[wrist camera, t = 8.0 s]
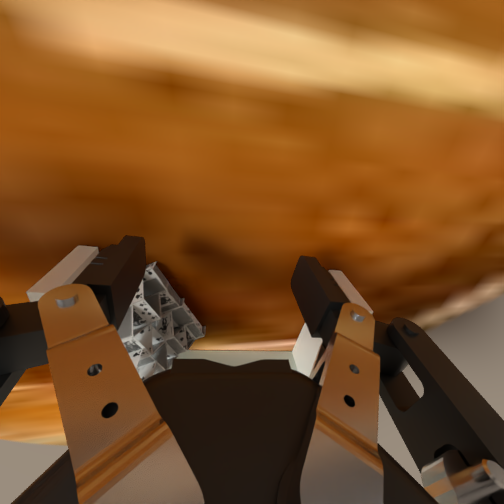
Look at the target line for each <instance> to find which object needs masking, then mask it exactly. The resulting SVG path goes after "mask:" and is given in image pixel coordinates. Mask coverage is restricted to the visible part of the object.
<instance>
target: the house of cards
mask: <svg viewBox="0 0 504 504" xmlns="http://www.w3.org/2000/svg"><path fill="white" fill-rule="evenodd" d="M156 262H157V261H156ZM156 262H153V263H151V264H148V265H146V271H145V275H144V278H143V280H142V282H141V284H140V286H139V288H138V290H137V292H136V294H135V296H134V298H133V300H132V303H131V305H130V307H129V309H128V311H127V313H126V315H125V317H124V319H123V321H122V323H121V325H120V328H119V330H118V331H117V332H118V334H119V336H120V338H121V340H122V342H123V344H124V346H125V348H126V350H127V352H128V354H129V356H130V358H131V360H132V362H133V364H134V366H135V368H137V372H138V374H139V376H140V378H141V380H142V381H144V380H145V379H147V378H148V377H150V376H152V375H154V374H156V373H159V372H162V371H164V370H168V369H169V368H170V367H171V365H172V362H173V359H177V357H178V356H179V355H178V354H180V353H183V352H186V351H188V349H189V348H190V346H191V345H192V344H193V342H194V341H195V340H196V339H198V338H201V337H204V335H205V329H206V326H203V327H202V326H201V324H200V323H199V321H198V320H197V319H196V317H195V316H194V315H193V313H192V312H191V311H190V310H189V308H188V307H187V305H186V304H185V303H184V299H185V298H182V299H180V297H179V296H178V295H177V293H176V292H175V291H174V289H173V288H172V287H171V285H170V284H169V282H168V280H167V279H166V278H165V276H164V275H163V274H162V272H161V271H160V270H159V268H158V267H157V266H156Z"/></svg>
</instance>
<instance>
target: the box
mask: <svg viewBox="0 0 504 504" xmlns="http://www.w3.org/2000/svg"><path fill="white" fill-rule="evenodd" d="M98 253H99V250H98V247H92V246H81V245H78V246H77V247H76V248H75V249H74V250H73V251H72V252H70V253H69V254H68V255H67V256H66V257H65V258H64V259H63V260H62V261H60V262H59V263H58V264H57V265H56V266H55V267H54V268H53V269H51V270H50V271H49V272H48V273H47V274H46V275H45V276H44V277H42V278H41V279H40V280H39V281H38V282H37V283H36V284H35V285H33V286H32V287H31V288H30V289H29V290H28V291H27V292H26V293H27V295H28V297H29V300H30V302H34V301H39V299H40V298H41V297H42V296H43V295H44V294H45V293H46V292H48V291H50V290H52V289H54V288H56V287H59V286H63V285H67V284H72V282H73V281H74V280H75V279H76V278H77V277H78V276H79V275H80V274H81V272H82V271H83V270H84V269H85V268H86V267H87V266H88V265H89V264H90V262H91V261H92V260H93V259H94V258H96V256H97V254H98ZM328 272H330V273H331V275H332V276H333V278H334V279H335V281H336V282H337V283H338V286H340V288H341V289H342V291H343V292H344V293H345V295H346V296H347V298H348V299H349V301H350V302H351V303H355V304H358V305H360V306H362V307H363V308H365V309H366V310H368V311H369V312H370V313H371V314H372V313H373V310H372V309H371V308H370V307H369V305H368V304H367V303H366V302H365V300H364V299H363V298H362V296H361V295H360V294H359V293H358V291H357V290H356V289H355V288H354V286H353V285H352V284H351V283H350V281H349V280H348V279H347V277H346V276H345V275H344V274H343V272H342V271H338V270H329V271H328ZM321 343H322V339H321V338H312V337H311V335H310V333H309V330H308V328H307V325H306V323H305V324H304V326H303V328H302V330H301V333H300V335H299V337H298V339H297V341H296V344H295V346H294V348H293V350H292V351H218V350H188V351H186V352H183V353H180V354H178V355H179V356H178V357H177V359H207V360H211V361H214V362H218V363H222V364H226V365H230V366H239V365H243V364H246V363H250V362H254V361H258V360H262V359H289V363H290V367H291V369H293V370H296V371H298V372H300V373H302V374H304V375H306V376H308V377H309V375H310V373H311V370H312V367H313V364H314V361H315V359H316V356H317V353H318V350H319V347H320V345H321ZM171 368H172V365H171V367H170V368H169V369H171ZM136 370H137V368H136Z"/></svg>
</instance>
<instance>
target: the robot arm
mask: <svg viewBox="0 0 504 504" xmlns="http://www.w3.org/2000/svg"><path fill="white" fill-rule="evenodd" d="M145 271H146V253H145V240H144V238H143V237H136V236H127V235H126V236H125V237H124V238H123V239H122V240H121V242H120V243H119V244H118V245H113V244H112V245H110V246H108V247H106V248H104V249H102V250H101V251H100V252H99V253H98V254H97V256H96V258H94V259H93V260H92V261H91V262H90V264H89V265H88V266H87V267H86V268H85V269H84V270H83V271H82V272H81V274H80V275H79V276H78V277H77V278H76V279H75V280H74V281H73V282H72V284H67V285H63V286H59V287H56V288H54V289H52V290H50V291H48V292H46V293H45V294H44V295H43V296H42V297H41V298H40V299H39V301H34V302H26V303H19V304H12V305H5V303H4V301H3V299H2V298H1V297H0V406H1V405H2V403H3V402H4V400H5V399H6V397H7V396H8V395H9V393H10V392H11V390H12V389H13V387H14V386H15V385H16V383H17V382H18V380H19V379H20V377H21V376H22V375H23V373H24V372H25V370H26V369H28V368H32V367H36V366H40V365H44V364H48V363H49V366H50V371H51V375H52V379H53V384H54V388H55V392H56V397H57V401H58V405H59V410H60V414H61V418H62V422H63V427H64V431H65V435H66V440H67V444H68V448H69V449H68V450H67V451H66V452H65V453H64V454H63V455H62V456H61V457H60V458H59V459H58V460H56V461H55V462H54V463H53V464H52V465H51V466H50V467H49V468H48V469H47V470H46V471H45V472H44V473H43V474H42V475H41V476H40V477H39V478H37V479H36V480H35V481H34V482H33V483H32V484H31V485H30V486H29V487H28V488H27V489H26V490H25V491H24V492H23V493H22V494H21V495H20V496H19V497H18V498H16V499H15V500H14V501H13V502H12V503H11V504H504V420H503V419H502V418H501V417H500V416H499V415H498V414H497V413H496V411H495V410H494V409H493V408H492V407H491V406H490V405H489V404H488V403H487V401H486V400H485V399H484V398H483V397H482V396H481V395H480V393H479V392H478V391H477V390H476V389H475V388H474V387H473V386H472V384H471V383H470V382H469V381H468V380H467V379H466V378H465V377H464V376H463V374H462V373H461V372H460V371H459V370H458V369H457V368H456V366H454V364H453V363H452V362H451V361H450V360H449V359H448V357H447V356H446V355H445V354H444V353H443V352H442V351H441V350H440V349H439V347H438V346H437V345H436V344H435V343H434V342H433V341H432V340H431V338H430V337H429V336H428V335H427V334H426V333H425V332H424V331H423V330H422V329H421V328H420V327H419V326H418V325H416V324H415V323H413V322H411V321H409V320H407V319H404V318H394V319H393V321H392V322H391V323H390V325H389V324H385V323H382V322H379V321H376V320H374V317H373V316H372V314H371V313H370V312H369V311H368V310H366V309H365V308H363V307H362V306H360V305H358V304H355V303H351V302H350V301H349V299H348V298H347V296H346V295H345V293H344V292H343V291H342V289H341V288H340V286H338V283H337V282H336V281H335V279H334V278H333V276H332V275H331V273H330V272H328V271H327V270H326V269H325V268H324V267H321V265H320V264H319V262H318V261H317V259H316V258H315V257H308V256H300V258H299V260H298V262H297V265H296V268H295V270H294V273H293V276H292V279H291V289H292V291H293V294H294V296H295V298H296V301H297V303H298V306H299V308H300V311H301V313H302V315H303V318H304V320H305V323H306V325H307V328H308V330H309V333H310V335H311V337H312V338H321V339H322V343H321V345H320V347H319V350H318V353H317V356H316V359H315V361H314V364H313V367H312V370H311V373H310V375H309V377H308V376H306V375H304V374H302V373H300V372H298V371H296V370H293V369H291V367H290V363H289V359H262V360H258V361H254V362H250V363H246V364H243V365H239V366H230V365H226V364H222V363H218V362H214V361H211V360H207V359H173V362H172V368H171V369H168V370H164V371H162V372H159V373H156V374H154V375H152V376H150V377H148V378H147V379H145V380H144V381H142V380H141V378H140V376H139V374H138V372H137V370H136V368H135V366H134V364H133V362H132V360H131V358H130V356H129V354H128V352H127V350H126V348H125V346H124V344H123V342H122V340H121V338H120V336H119V334H118V332H117V331H118V330H119V328H120V325H121V323H122V321H123V319H124V317H125V315H126V313H127V311H128V309H129V307H130V305H131V303H132V300H133V298H134V296H135V294H136V292H137V290H138V288H139V286H140V284H141V282H142V280H143V278H144V275H145ZM408 364H409V365H410V367H411V368H412V369H413V371H414V372H415V374H416V375H417V376H418V378H419V379H420V381H421V382H422V384H423V387H424V395H423V396H422V397H421V398H419V396H418V395H417V393H416V392H415V390H414V389H413V387H412V386H411V384H410V383H409V381H408V380H407V378H406V377H405V375H404V374H403V372H402V370H404V368H405V367H406V366H407V365H408ZM379 394H380V396H381V398H382V400H383V402H384V404H385V406H386V408H387V409H388V412H389V414H390V415H391V417H392V419H393V421H394V423H395V425H396V427H397V429H398V431H399V433H400V435H401V436H402V439H403V440H404V442H405V444H406V446H407V448H408V450H409V452H410V454H411V456H412V458H413V459H414V461H415V463H416V465H417V467H418V469H419V471H420V473H421V478H422V483H423V486H424V488H423V487H422V486H421V485H420V484H419V483H418V482H417V481H416V480H415V479H414V478H413V477H412V476H411V475H410V474H409V473H408V472H407V471H406V470H405V469H404V468H402V467H401V466H400V465H399V463H398V462H397V461H396V460H394V458H393V457H391V456H390V455H389V454H388V453H387V452H386V451H385V450H384V449H383V448H382V447H381V446H380V445H379V444H378V443H377V441H378V438H377V437H378V410H379Z"/></svg>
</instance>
